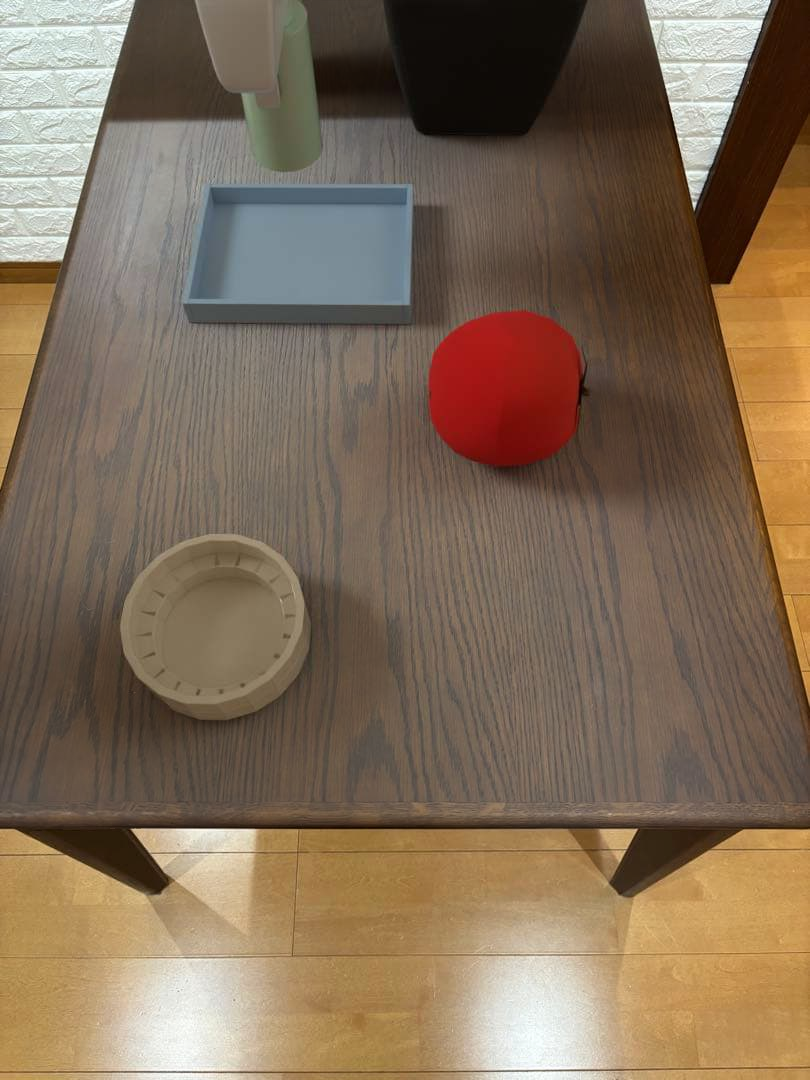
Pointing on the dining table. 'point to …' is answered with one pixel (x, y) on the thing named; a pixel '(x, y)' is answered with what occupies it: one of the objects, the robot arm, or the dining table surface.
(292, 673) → the bowl
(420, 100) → the flower pot
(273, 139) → the bottle
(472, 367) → the tomato
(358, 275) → the tray
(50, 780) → the dining table surface
